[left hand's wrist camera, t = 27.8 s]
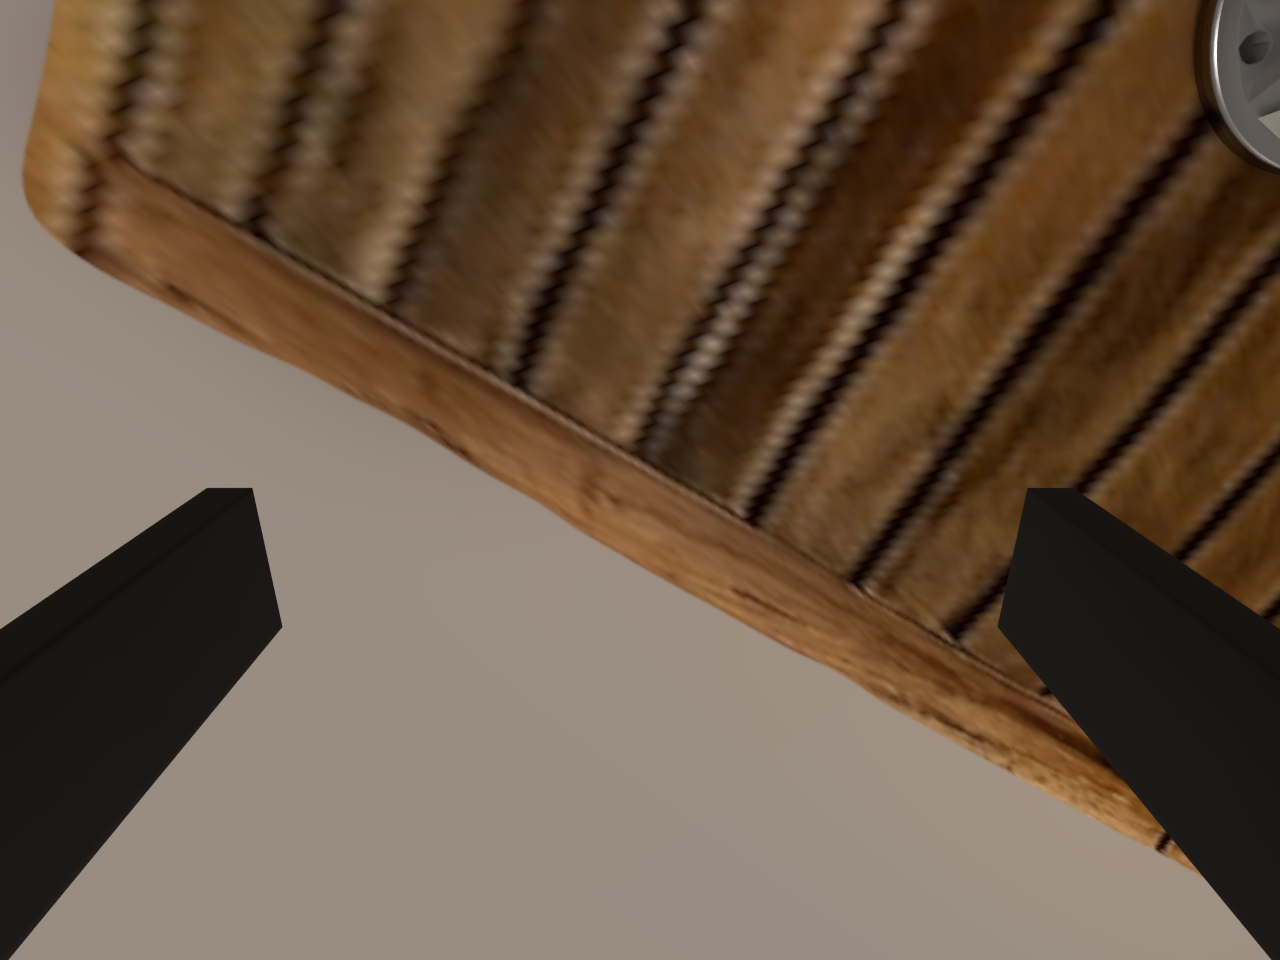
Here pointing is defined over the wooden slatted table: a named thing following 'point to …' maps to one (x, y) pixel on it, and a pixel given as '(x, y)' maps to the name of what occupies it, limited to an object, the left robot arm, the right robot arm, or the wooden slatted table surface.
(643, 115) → the wooden slatted table surface
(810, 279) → the wooden slatted table surface
